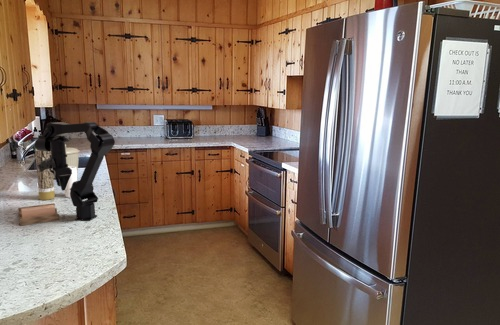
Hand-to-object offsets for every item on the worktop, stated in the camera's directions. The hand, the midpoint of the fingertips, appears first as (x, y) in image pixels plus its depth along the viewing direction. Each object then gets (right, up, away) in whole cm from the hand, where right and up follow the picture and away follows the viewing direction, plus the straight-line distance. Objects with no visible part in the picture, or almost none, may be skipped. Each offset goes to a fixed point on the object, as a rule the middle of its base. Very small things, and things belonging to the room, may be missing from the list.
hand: (61, 188), depth 165 cm
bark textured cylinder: (-19, -7, +25) cm, 32 cm away
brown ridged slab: (-9, -12, -2) cm, 15 cm away
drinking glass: (-10, -6, +30) cm, 32 cm away
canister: (-32, +1, +71) cm, 78 cm away
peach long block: (-6, -12, -6) cm, 14 cm away
